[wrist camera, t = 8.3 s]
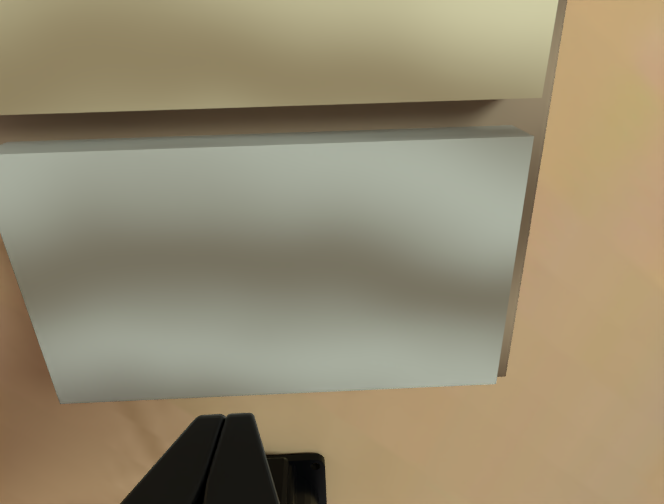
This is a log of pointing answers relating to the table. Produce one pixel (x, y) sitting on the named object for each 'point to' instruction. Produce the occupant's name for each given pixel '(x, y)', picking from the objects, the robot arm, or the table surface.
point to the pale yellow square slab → (267, 53)
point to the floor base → (273, 243)
